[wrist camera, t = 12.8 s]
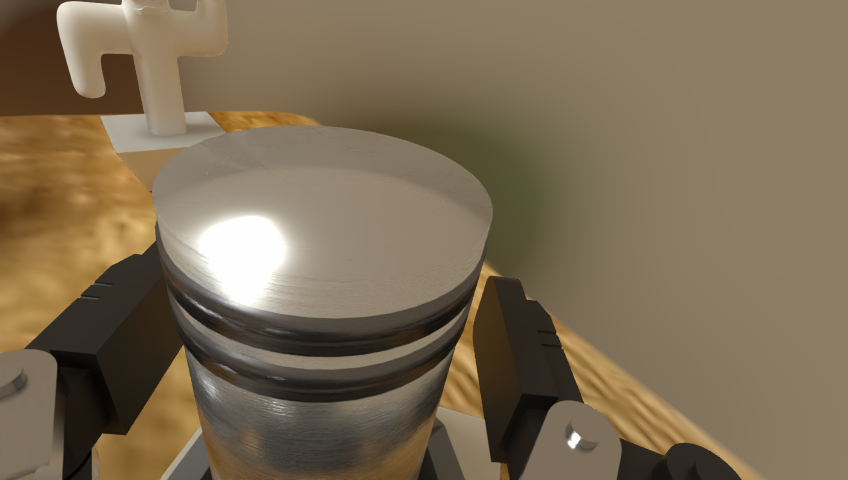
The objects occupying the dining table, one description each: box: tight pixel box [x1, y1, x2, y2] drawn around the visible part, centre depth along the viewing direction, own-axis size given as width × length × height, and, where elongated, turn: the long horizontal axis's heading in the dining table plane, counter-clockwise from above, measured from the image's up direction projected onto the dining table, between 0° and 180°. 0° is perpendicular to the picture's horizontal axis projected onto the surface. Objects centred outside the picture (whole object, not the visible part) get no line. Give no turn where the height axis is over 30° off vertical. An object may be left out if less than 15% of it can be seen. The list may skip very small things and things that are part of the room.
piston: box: [152, 125, 493, 480], centre depth 10 cm, size 5×5×12 cm
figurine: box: [57, 0, 228, 191], centre depth 28 cm, size 7×9×15 cm
